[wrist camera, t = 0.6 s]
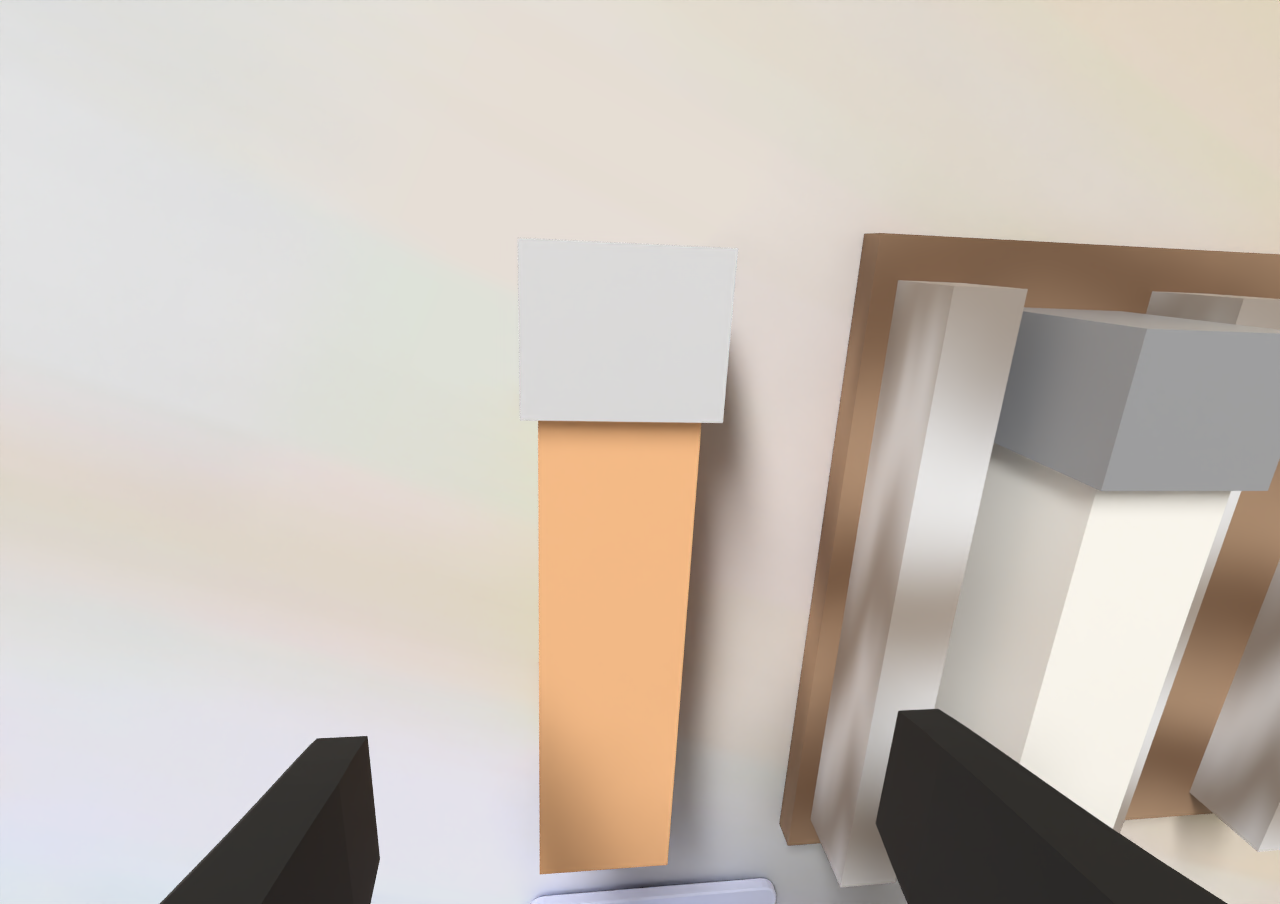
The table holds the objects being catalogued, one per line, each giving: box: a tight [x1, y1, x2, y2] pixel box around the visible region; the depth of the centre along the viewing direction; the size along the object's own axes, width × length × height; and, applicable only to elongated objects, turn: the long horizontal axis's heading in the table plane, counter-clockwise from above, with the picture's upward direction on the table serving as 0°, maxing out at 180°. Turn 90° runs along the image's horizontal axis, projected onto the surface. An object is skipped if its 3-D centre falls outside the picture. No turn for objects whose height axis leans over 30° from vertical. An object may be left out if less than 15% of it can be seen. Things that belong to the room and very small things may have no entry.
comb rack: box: [779, 233, 1280, 888], centre depth 17 cm, size 18×16×3 cm
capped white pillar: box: [934, 307, 1280, 829], centre depth 15 cm, size 14×4×4 cm, turn 178°
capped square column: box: [518, 238, 738, 874], centre depth 15 cm, size 14×4×4 cm, turn 177°
